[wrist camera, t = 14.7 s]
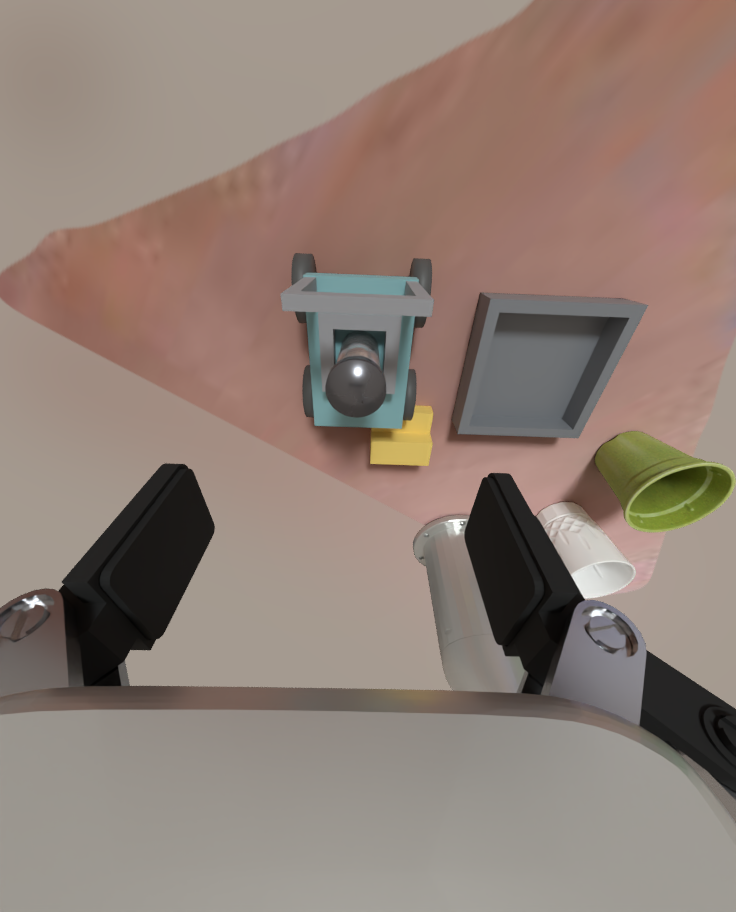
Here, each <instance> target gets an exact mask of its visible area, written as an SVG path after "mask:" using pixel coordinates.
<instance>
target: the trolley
mask: <svg viewBox="0 0 736 912" xmlns="http://www.w3.org/2000/svg"><path fill="white" fill-rule="evenodd" d="M431 283H432V265H431V260H430V259H416V258H414V259H413V261H412V265H411V269H410V275H409V277H400V276H376V275H352V274H329V273H317V272H316V265H315V260H314V257H313V255H312V254H300V253H295V254H294V257H293V262H292V286H291V287H289V288H288V289H287V290H285V291H284V292H282V293H281V301H282V310H283V311H295V313H296V317H297V320H298V321H299V323H307V332H308V345H309V358H310V366H309V365H307V366H306V367H305V370H304V375H303V406H304V412H305V415H306V417H314V423H315V426H337V427H366V428H394V429H402V422H403V420H407V421H411V420H412V418H413V414H414V409H415V401H416V373H415V370H414V369H409V362H410V353H411V345H412V336H413V328H414V327H416V328H422V327H423V326H424V324H425V321H426V318H427V317H432V311H433V304H434V299H433V298H432V297H431V296H430V294H431ZM354 331H365V332H368V333H370V334H371V335H372V336H373V337H374V338H375V339H376V341H377V343H378V346H379V359H380V368H381V370H382V371H383V373H384V376H385V379H386V397H385V400H384V402H383V404H382V405H381V407H380V408H379V409H378V410H377V411H375V412H374V413H372V414H370V415H368V416H365V417H358V418H355V417H348V416H345V415H343V414H341V413H339V412H338V411H336V410H335V409H334V408H333V407H332V406H331V404H330V403H329V401H328V399H327V396H326V391H325V385H326V380H327V377H328V374H329V372H330V370H331V368H332V367H333V366H334V364H335V363H337V359H338V355H339V352H340V348H341V344H342V341H343V340H344V338H345V337H346V336H347V335H348V334H349V333H351V332H354Z"/></svg>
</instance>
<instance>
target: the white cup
mask: <svg viewBox="0 0 736 912" xmlns="http://www.w3.org/2000/svg"><path fill="white" fill-rule="evenodd" d="M536 517H537V518H538V519H539V521H540V522H541V524H542V526H543V528H544V529H545V531H546V533H547V535H548V536H549V538H550V540H551V541H552V543H553V545H554V547H555V548H556V550H557V552H558V554H559V555H560V557H561V559H562V561H563V562H564V564H565V566H566V568H567V569H568V571H569V573H570V575H571V576H572V578H573V580H574V582H575V583H576V585H577V587H578V589H579V590H580V592H581V594H582V596H583V597H584V598H596V597H602V596H605V595H609V594H612V593H614V592H616V591H619V590H620V589H622V588H624V587H625V586H627V585H628V584H629V583H630V582H631V581H632V580H633V579H634V577H635V574H636V570H635V568H634V567H633V565H632V564H631V563H630V562H629V561H628V560H627V558H626V557H625V556H624V555H623V554H622V552H621V551H620V550H619V549H618V548H617V547H616V545H615V544H614V543H613V542H612V541H611V539H610V538H609V537H608V536H607V535H606V534H605V533H604V532H603V531H602V530H601V528H600V527H599V526H598V525H597V524H596V523H595V522H594V521H593V520H592V519H591V518H590V517H589V515H588V514H587V513H586V512H585V511H584V509H583V508H582V507H581V506H579V505H577V504H575V503H573V502H560V503H556V504H552V505H550V506H548V507H546V508H544V509H543V510H541V511H540V512H539V513H538V515H537V516H536Z"/></svg>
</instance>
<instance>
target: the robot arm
mask: <svg viewBox="0 0 736 912" xmlns="http://www.w3.org/2000/svg"><path fill="white" fill-rule="evenodd" d="M214 528H215V526H214V522H213V520H212V517H211V515H210V512H209V510H208V507H207V505H206V502H205V500H204V497H203V495H202V493H201V490H200V487H199V485H198V482H197V480H196V477H195V475H194V472H193V471H192V470H191V469H188V467H187V466H186V465H185V464H163V465H162V466H161V467H160V468H159V469H158V470H157V471H156V472H155V473H154V475H153V476H152V477H151V478H150V479H149V480H148V482H147V483H146V484H145V485H144V486H143V487H142V489H141V490H140V491H139V492H138V493H137V494H136V495H135V497H134V498H133V499H132V500H131V501H130V502H129V504H128V505H127V506H126V507H125V508H124V510H123V511H122V512H121V513H120V514H119V515H118V516H117V518H116V519H115V520H114V521H113V522H112V523H111V525H110V526H109V527H108V528H107V529H106V530H105V532H104V533H103V534H102V535H101V536H100V537H99V539H98V540H97V541H96V542H95V543H94V545H93V546H92V547H91V548H90V549H89V550H88V552H87V553H86V554H85V555H84V556H83V557H82V559H81V560H80V561H79V562H78V563H77V564H76V565H75V567H74V568H73V569H72V570H71V572H69V574H68V575H67V576H66V577H65V578H64V580H63V581H62V583H63V584H64V585H63V586H62V587H61V589H60V590H59V591H57V590H55V589H39V590H34V591H31V592H28V593H25V594H23V595H21V596H19V597H17V598H15V599H13V600H11V601H9V602H8V603H7V604H5V605H4V606H2V607H1V608H0V912H736V709H735V708H733V707H732V706H730V705H729V704H727V703H726V702H724V701H723V700H721V699H720V698H718V697H717V696H715V695H714V694H712V693H710V692H709V691H707V690H706V689H705V688H703V687H701V686H700V685H698V684H697V683H695V682H694V681H692V680H691V679H689V678H688V677H686V676H685V675H683V674H682V673H680V672H679V671H677V670H676V669H674V668H673V667H671V666H670V665H668V664H667V663H665V662H663V661H662V660H661V659H659V658H658V657H656V656H655V655H653V654H652V653H650V652H649V651H647V650H646V643H645V641H644V639H643V637H642V635H641V633H640V631H639V630H638V629H637V627H636V626H635V625H634V623H633V622H632V621H631V620H630V619H629V618H628V617H626V616H625V615H624V614H623V613H622V612H620V611H619V610H617V609H616V608H614V607H612V606H610V605H608V604H606V603H604V602H600V601H595V600H585V599H584V597H583V596H582V594H581V592H580V590H579V589H578V587H577V585H576V583H575V582H574V580H573V578H572V576H571V575H570V573H569V571H568V569H567V568H566V566H565V564H564V562H563V561H562V559H561V557H560V555H559V554H558V552H557V550H556V548H555V547H554V545H553V543H552V541H551V540H550V538H549V536H548V535H547V533H546V531H545V529H544V528H543V526H542V524H541V522H540V521H539V519H538V518H537V517H536V516H534V515H533V514H532V512H531V510H530V508H529V506H528V505H527V503H526V501H525V499H524V498H523V496H522V494H521V492H520V490H519V489H518V487H517V485H516V483H515V482H514V480H513V478H512V476H511V475H510V474H506V473H490V474H489V475H488V477H484V478H483V479H482V482H481V485H480V488H479V491H478V493H477V496H476V499H475V502H474V505H473V508H472V511H471V514H470V516H468V515H453V516H447V517H443V518H440V519H437V520H434V521H432V522H430V523H428V524H427V525H426V526H424V527H423V528H422V529H421V530H420V531H419V532H418V533H417V535H416V537H415V539H414V541H413V550H414V555H415V557H416V559H417V560H418V561H419V562H420V563H422V564H423V565H424V566H426V568H427V574H428V580H429V586H430V592H431V599H432V605H433V611H434V617H435V623H436V629H437V635H438V642H439V648H440V654H441V659H442V665H443V670H444V674H445V677H446V679H447V681H448V683H449V685H450V687H451V688H452V690H453V691H445V690H396V689H342V688H338V689H337V688H277V687H194V686H191V687H189V686H188V687H187V686H130V685H129V679H128V674H127V669H126V664H125V658H126V657H127V655H128V653H129V651H130V650H151V648H152V646H153V644H154V642H155V640H156V639H159V638H160V637H161V636H162V635H163V634H164V632H165V630H166V628H167V626H168V624H169V622H170V620H171V618H172V616H173V614H174V612H175V610H176V608H177V606H178V604H179V602H180V600H181V598H182V596H183V594H184V592H185V590H186V588H187V586H188V584H189V582H190V580H191V578H192V576H193V574H194V572H195V570H196V568H197V566H198V564H199V562H200V560H201V558H202V556H203V554H204V552H205V550H206V548H207V546H208V544H209V542H210V540H211V538H212V536H213V534H214Z"/></svg>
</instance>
